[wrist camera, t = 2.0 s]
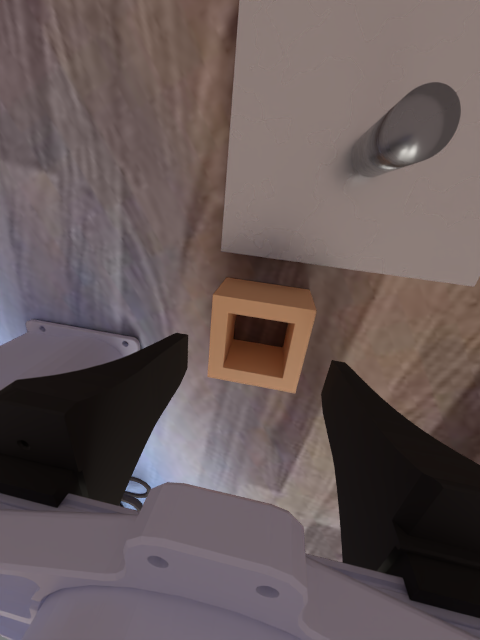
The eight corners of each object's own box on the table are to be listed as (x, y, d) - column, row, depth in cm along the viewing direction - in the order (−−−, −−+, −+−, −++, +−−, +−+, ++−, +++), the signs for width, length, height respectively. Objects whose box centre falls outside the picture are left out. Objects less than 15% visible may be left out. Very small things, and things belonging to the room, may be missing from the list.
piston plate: (224, 248, 16) (197, 267, 11) (244, -7, 11) (213, -183, 6) (462, 281, 14) (557, 320, 9) (599, 8, 10) (932, -200, 5)
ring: (220, 347, 19) (207, 376, 15) (226, 277, 16) (213, 294, 13) (292, 360, 18) (295, 393, 15) (309, 289, 16) (316, 310, 13)
